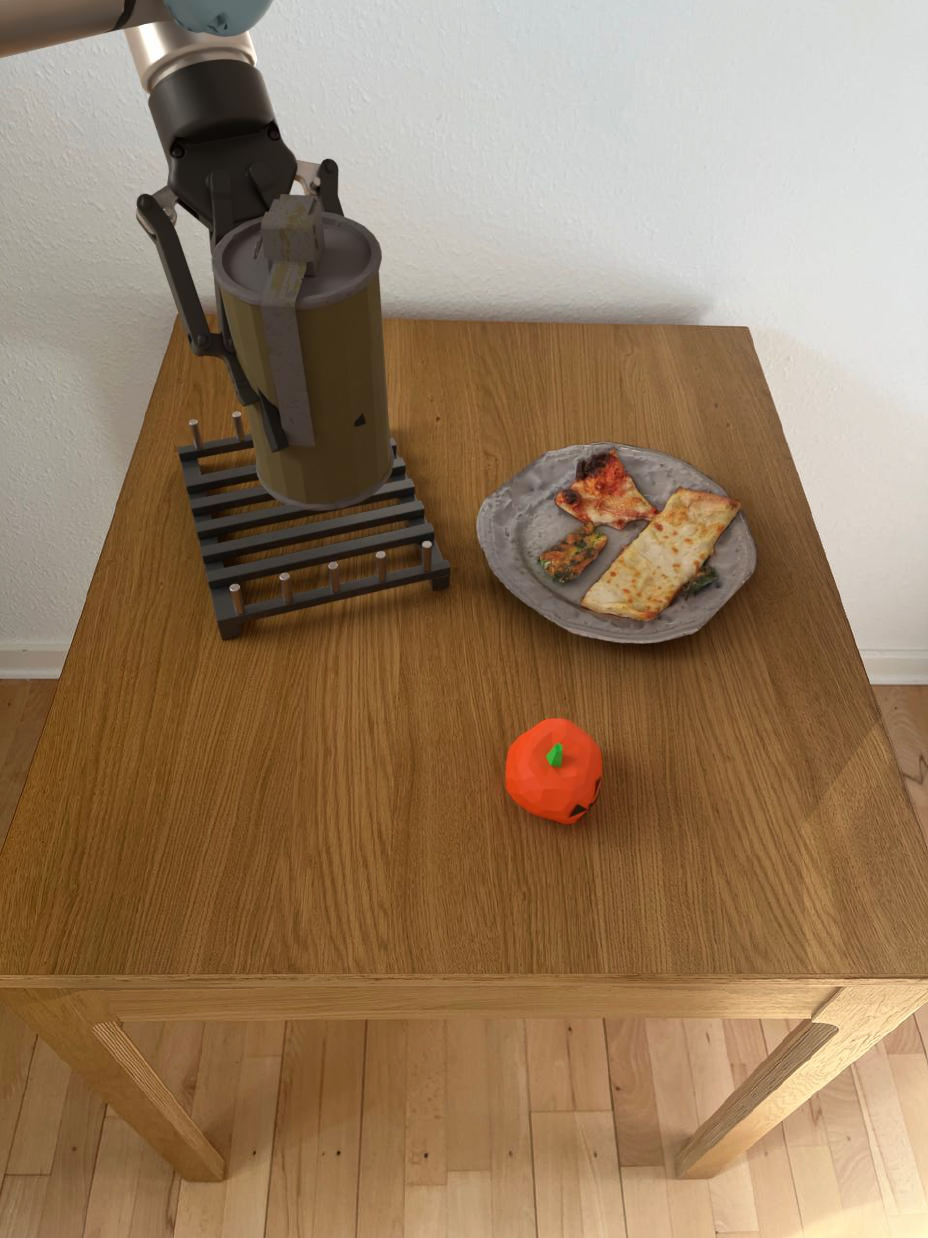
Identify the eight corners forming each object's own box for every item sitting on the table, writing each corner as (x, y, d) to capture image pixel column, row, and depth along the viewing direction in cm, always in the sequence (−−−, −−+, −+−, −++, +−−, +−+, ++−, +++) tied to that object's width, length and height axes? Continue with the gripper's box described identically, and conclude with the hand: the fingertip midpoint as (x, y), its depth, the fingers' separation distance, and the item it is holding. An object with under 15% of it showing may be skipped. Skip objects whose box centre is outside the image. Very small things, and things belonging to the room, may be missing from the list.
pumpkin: (601, 749, 73) (615, 703, 68) (593, 843, 68) (607, 801, 63) (510, 733, 74) (517, 687, 69) (495, 826, 69) (501, 783, 64)
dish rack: (222, 640, 78) (210, 597, 74) (182, 467, 91) (170, 422, 87) (450, 586, 83) (451, 543, 78) (381, 429, 96) (379, 384, 91)
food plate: (593, 426, 97) (598, 398, 94) (793, 538, 88) (805, 512, 85) (429, 556, 85) (430, 529, 82) (642, 703, 76) (650, 678, 73)
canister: (272, 413, 75) (226, 164, 59) (402, 422, 75) (390, 173, 59) (240, 510, 68) (178, 259, 53) (382, 521, 68) (363, 271, 52)
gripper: (322, 87, 66) (421, 411, 70) (63, 131, 61) (186, 479, 65) (346, 32, 59) (454, 395, 63) (56, 76, 54) (194, 470, 58)
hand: (318, 437), depth 64 cm, fingers closed on canister, 5 cm apart
